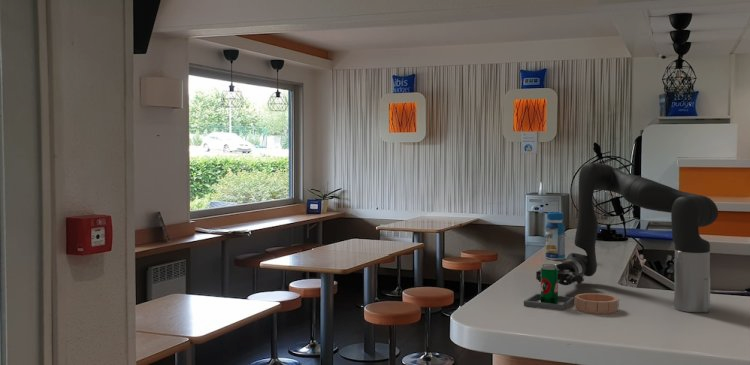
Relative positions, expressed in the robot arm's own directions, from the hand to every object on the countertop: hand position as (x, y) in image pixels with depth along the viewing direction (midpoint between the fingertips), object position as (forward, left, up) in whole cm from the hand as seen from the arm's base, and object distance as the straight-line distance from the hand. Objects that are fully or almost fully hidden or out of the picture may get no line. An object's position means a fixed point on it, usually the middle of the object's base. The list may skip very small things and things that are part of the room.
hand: (553, 280), depth 207 cm
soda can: (0, +5, -7) cm, 8 cm away
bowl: (-14, +5, -7) cm, 16 cm away
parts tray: (0, +5, -7) cm, 8 cm away
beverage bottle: (+23, -81, -7) cm, 84 cm away
